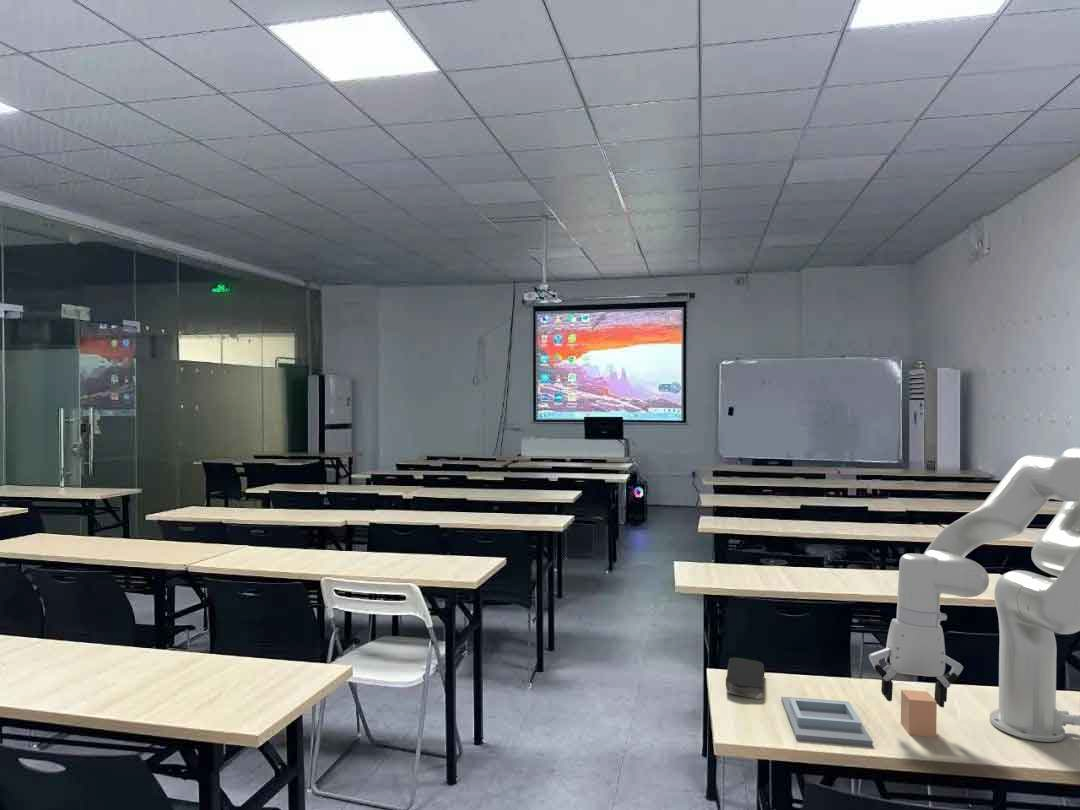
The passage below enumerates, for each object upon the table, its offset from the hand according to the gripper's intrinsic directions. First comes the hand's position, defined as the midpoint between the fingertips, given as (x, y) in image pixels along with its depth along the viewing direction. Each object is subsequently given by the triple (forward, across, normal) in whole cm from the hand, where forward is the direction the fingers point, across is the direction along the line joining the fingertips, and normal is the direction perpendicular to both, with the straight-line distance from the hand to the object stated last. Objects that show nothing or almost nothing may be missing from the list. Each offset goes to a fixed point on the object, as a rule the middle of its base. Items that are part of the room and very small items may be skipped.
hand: (913, 701), depth 142 cm
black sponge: (+7, +30, -17) cm, 36 cm away
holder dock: (+6, +17, 0) cm, 18 cm away
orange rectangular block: (+6, -1, 0) cm, 6 cm away
